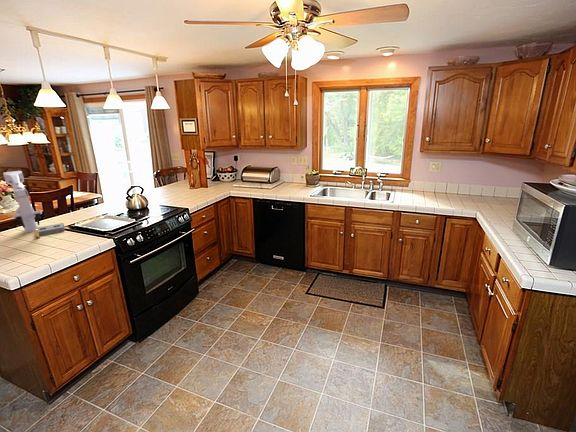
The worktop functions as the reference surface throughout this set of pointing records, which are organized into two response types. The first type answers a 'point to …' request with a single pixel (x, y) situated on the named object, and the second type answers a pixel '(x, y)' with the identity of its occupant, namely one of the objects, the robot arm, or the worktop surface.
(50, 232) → the bore block
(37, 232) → the brass pin
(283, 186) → the worktop surface
